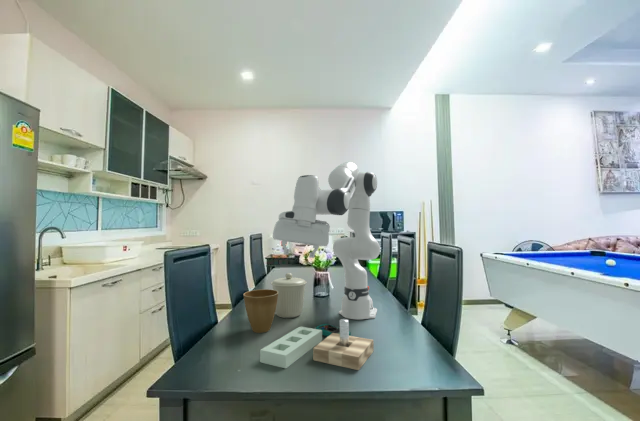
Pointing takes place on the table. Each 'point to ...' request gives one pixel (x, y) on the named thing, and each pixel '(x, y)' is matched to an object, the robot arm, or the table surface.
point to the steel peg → (344, 332)
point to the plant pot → (261, 308)
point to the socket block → (343, 351)
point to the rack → (290, 347)
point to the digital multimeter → (329, 329)
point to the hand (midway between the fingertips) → (299, 256)
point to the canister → (289, 296)
